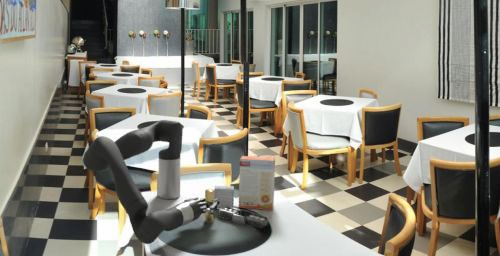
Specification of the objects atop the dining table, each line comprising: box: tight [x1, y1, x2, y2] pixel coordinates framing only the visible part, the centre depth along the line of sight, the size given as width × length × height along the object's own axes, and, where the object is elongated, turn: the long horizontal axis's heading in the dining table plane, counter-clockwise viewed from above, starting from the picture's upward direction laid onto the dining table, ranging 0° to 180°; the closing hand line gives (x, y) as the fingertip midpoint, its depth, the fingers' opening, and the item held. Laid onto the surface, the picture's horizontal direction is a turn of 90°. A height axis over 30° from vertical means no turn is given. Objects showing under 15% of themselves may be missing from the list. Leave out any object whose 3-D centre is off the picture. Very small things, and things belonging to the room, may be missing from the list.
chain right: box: [245, 213, 269, 230], centre depth 168 cm, size 7×5×3 cm
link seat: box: [232, 208, 254, 226], centre depth 171 cm, size 5×7×3 cm
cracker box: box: [238, 155, 276, 211], centre depth 185 cm, size 14×6×21 cm, turn 82°
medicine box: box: [213, 185, 235, 208], centre depth 184 cm, size 8×4×9 cm, turn 92°
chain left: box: [218, 206, 242, 222], centre depth 175 cm, size 7×5×3 cm
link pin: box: [204, 188, 215, 223], centre depth 169 cm, size 4×4×12 cm
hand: (214, 200), depth 171 cm, fingers closed on link pin, 3 cm apart
